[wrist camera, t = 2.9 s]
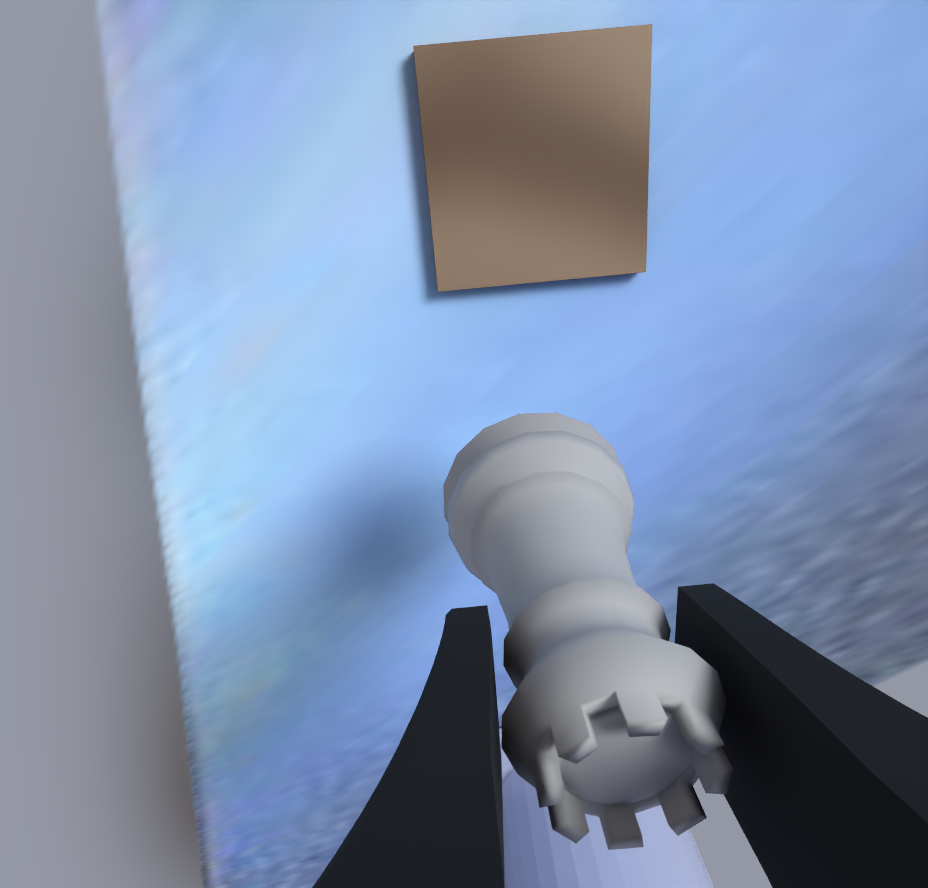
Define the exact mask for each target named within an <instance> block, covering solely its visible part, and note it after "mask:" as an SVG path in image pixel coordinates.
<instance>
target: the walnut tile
mask: <svg viewBox="0 0 928 888" xmlns="http://www.w3.org/2000/svg"><path fill="white" fill-rule="evenodd" d="M413 48H414V58H415V68H416V78H417V88H418V98H419V108H420V117H421V127H422V137H423V147H424V157H425V167H426V177H427V187H428V197H429V207H430V217H431V227H432V237H433V247H434V257H435V267H436V276H437V286H438V292H439V291H450V290H461V289H471V288H482V287H492V286H503V285H513V284H524V283H534V282H545V281H556V280H566V279H577V278H587V277H598V276H608V275H619V274H629V273H640V272H646V249H647V209H648V168H649V128H650V88H651V48H652V24H649V25H638V26H627V27H616V28H605V29H594V30H583V31H572V32H561V33H550V34H539V35H528V36H517V37H506V38H495V39H484V40H473V41H462V42H451V43H440V44H429V45H418V46H413Z"/></svg>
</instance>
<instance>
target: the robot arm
mask: <svg viewBox="0 0 928 888" xmlns="http://www.w3.org/2000/svg"><path fill="white" fill-rule="evenodd" d="M675 644H679V645H682V646H685V647H688V648H690V649H692V650H693V651H694V652H695V653H696V654H697V655H699V656H700V657H701V658H702V659H703V660H705V661H706V662H707V663H708V664H709V665H710V666H712V667H713V668H714V669H715V670H716V671H717V672H718V675H719V679H720V682H721V685H722V688H723V691H724V694H725V697H726V700H727V703H726V707H725V711H724V715H723V720H722V724H721V728H720V732H719V735H720V737H721V739H722V741H723V742H724V744H725V745H724V746H722V749H723V751H724V752H725V754H726V756H727V758H728V760H729V762H730V764H731V766H732V768H733V771H732V775H731V779H730V783H729V786H728V790H727V794H724V796H725V797H726V800H727V801H728V803H729V805H730V807H731V808H732V811H733V812H734V815H735V817H736V818H737V820H738V822H739V824H740V826H741V828H742V830H743V832H744V834H745V835H746V837H747V839H748V841H749V843H750V845H751V847H752V849H753V851H754V853H755V854H756V856H757V858H758V860H759V862H760V864H761V866H762V868H763V870H764V872H765V873H766V875H767V877H768V879H769V881H770V883H771V885H772V887H773V888H928V718H927V717H925V716H923V715H921V714H919V713H918V712H916V711H914V710H912V709H910V708H909V707H907V706H905V705H903V704H902V703H900V702H898V701H897V700H895V699H893V698H892V697H890V696H888V695H886V694H885V693H883V692H881V691H880V690H878V689H876V688H874V687H873V686H871V685H869V684H868V683H866V682H864V681H863V680H861V679H859V678H858V677H856V676H854V675H853V674H851V673H849V672H848V671H846V670H845V669H843V668H841V667H840V666H838V665H837V664H835V663H833V662H832V661H830V660H829V659H827V658H826V657H824V656H822V655H821V654H819V653H818V652H816V651H815V650H813V649H812V648H810V647H809V646H807V645H805V644H804V643H802V642H801V641H799V640H798V639H796V638H795V637H793V636H792V635H790V634H789V633H787V632H786V631H784V630H783V629H781V628H780V627H778V626H777V625H775V624H774V623H772V622H771V621H769V620H768V619H766V618H765V617H764V616H762V615H761V614H759V613H758V612H756V611H755V610H753V609H752V608H750V607H749V606H747V605H746V604H744V603H743V602H741V601H740V600H738V599H737V598H735V597H734V596H732V595H731V594H729V593H728V592H726V591H725V590H723V589H722V588H720V587H718V586H717V585H715V584H703V585H693V586H682V587H678V597H677V614H676V632H675ZM501 741H502V728H499V721H498V709H497V696H496V684H495V672H494V659H493V647H492V635H491V627H490V620H489V614H488V608H487V605H486V606H476V607H466V608H455V609H451V610H450V611H449V612H448V613H447V614H446V617H445V625H444V629H443V634H442V638H441V641H440V645H439V648H438V651H437V654H436V657H435V661H434V664H433V667H432V669H431V672H430V674H429V677H428V680H427V682H426V685H425V687H424V690H423V692H422V695H421V698H420V700H419V702H418V705H417V707H416V709H415V712H414V714H413V716H412V718H411V720H410V722H409V724H408V726H407V729H406V731H405V733H404V735H403V737H402V739H401V741H400V744H399V746H398V748H397V750H396V752H395V754H394V756H393V758H392V760H391V761H390V763H389V765H388V767H387V769H386V771H385V773H384V775H383V776H382V778H381V780H380V782H379V784H378V785H377V787H376V789H375V791H374V792H373V794H372V796H371V798H370V799H369V801H368V803H367V804H366V806H365V808H364V810H363V811H362V813H361V815H360V816H359V818H358V819H357V821H356V822H355V824H354V826H353V827H352V829H351V830H350V832H349V833H348V835H347V837H346V838H345V840H344V841H343V843H342V844H341V846H340V848H339V849H338V851H337V852H336V854H335V855H334V857H333V858H332V860H331V861H330V863H329V864H328V866H327V867H326V869H325V870H324V872H323V873H322V875H321V876H320V877H319V879H318V880H317V882H316V883H315V885H314V886H313V887H312V888H714V887H713V884H712V882H711V880H710V877H709V875H708V872H707V870H706V868H705V865H704V863H703V861H702V858H701V855H700V853H699V851H698V848H697V846H696V843H695V841H694V838H693V836H692V834H691V831H690V829H688V830H687V831H685V832H683V833H682V834H680V835H679V836H677V835H676V833H675V832H674V831H673V830H672V829H671V828H670V827H669V825H668V823H667V820H666V817H665V815H664V812H663V809H662V807H661V805H659V806H656V807H653V808H650V809H647V810H644V811H641V812H638V813H635V815H636V818H637V821H638V824H639V827H640V830H641V833H642V839H643V847H639V848H626V849H613V850H608V847H607V844H606V840H605V836H604V833H603V829H602V826H601V822H600V818H599V817H598V816H593V815H588V814H585V816H586V820H587V824H588V828H589V833H587V834H586V835H585V836H584V837H583V838H582V839H581V840H580V841H579V842H578V843H577V844H576V843H574V842H573V841H571V840H569V839H567V838H566V837H564V836H562V835H561V834H559V833H557V832H556V831H554V830H552V826H551V821H550V816H549V811H548V806H547V807H542V808H539V802H538V797H537V792H536V788H534V787H533V786H532V785H531V784H529V783H528V782H527V781H525V780H524V779H523V778H522V777H520V776H519V775H518V774H517V773H516V771H515V770H514V768H513V766H512V765H511V763H510V761H509V760H508V758H507V756H506V755H505V753H504V751H503V749H502V748H501Z"/></svg>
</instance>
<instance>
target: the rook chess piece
mask: <svg viewBox="0 0 928 888" xmlns="http://www.w3.org/2000/svg"><path fill="white" fill-rule="evenodd" d="M633 511H634V499H633V494H632V491H631V488H630V485H629V483H628V480H627V477H626V474H625V471H624V468H623V466H622V465H621V464H620V463H619V461H618V458H617V455H616V452H615V450H614V448H613V447H612V446H611V445H610V444H609V443H608V442H607V441H606V440H605V439H604V438H603V437H602V436H601V435H600V434H599V433H598V432H597V431H596V430H595V429H594V428H593V427H592V426H591V425H589V424H587V423H584V422H581V421H578V420H576V419H573V418H570V417H567V416H565V415H562V414H559V413H532V414H518V415H515V416H513V417H510V418H508V419H506V420H503V421H501V422H498V423H496V424H494V425H491V426H489V427H486V428H484V429H483V430H482V431H481V432H480V433H479V434H477V435H476V436H475V437H474V438H473V439H472V440H471V441H470V442H469V443H468V444H467V445H466V446H465V447H464V448H463V449H462V450H461V451H460V452H459V453H458V454H457V455H456V458H455V460H454V462H453V465H452V467H451V469H450V471H449V474H448V476H447V478H446V481H445V483H444V515H445V518H446V520H447V522H448V524H449V537H450V539H451V541H452V542H453V544H454V546H455V548H456V550H457V552H458V554H459V556H460V558H461V560H462V561H463V563H464V565H465V566H466V568H467V570H468V571H469V572H471V573H472V574H473V575H475V576H476V577H477V578H478V579H480V580H481V581H482V582H483V584H484V585H486V586H487V587H488V588H490V589H491V590H492V591H494V592H495V593H496V594H497V596H498V599H499V601H500V604H501V606H502V609H503V611H504V614H505V616H506V619H507V621H508V627H509V632H508V633H507V635H506V637H505V639H504V664H503V665H504V667H505V669H506V671H507V673H508V675H509V676H510V678H511V680H512V682H513V684H514V686H515V687H516V688H517V691H516V692H515V694H514V696H513V698H512V699H511V701H510V703H509V704H508V706H507V708H506V710H505V711H504V713H503V715H502V741H501V748H502V749H503V751H504V753H505V755H506V756H507V758H508V760H509V761H510V763H511V765H512V766H513V768H514V770H515V771H516V773H517V774H518V775H519V776H520V777H522V778H523V779H524V780H525V781H527V782H528V783H529V784H531V785H532V786H533V787H534V788H536V792H537V797H538V802H539V808H542V807H547V806H548V811H549V816H550V821H551V826H552V830H554V831H556V832H557V833H559V834H561V835H562V836H564V837H566V838H567V839H569V840H571V841H573V842H574V843H576V844H577V843H578V842H579V841H580V840H581V839H582V838H583V837H584V836H585V835H586V834H587V833H589V828H588V824H587V820H586V816H585V814H588V815H593V816H598V817H599V818H600V822H601V826H602V829H603V833H604V836H605V840H606V844H607V847H608V850H613V849H626V848H639V847H643V839H642V833H641V830H640V827H639V824H638V821H637V818H636V815H635V813H638V812H641V811H644V810H647V809H650V808H653V807H656V806H659V805H661V807H662V809H663V812H664V815H665V817H666V820H667V823H668V825H669V827H670V828H671V829H672V830H673V831H674V832H675V833H676V835H677V836H679V835H680V834H682V833H683V832H685V831H687V830H688V829H690V828H691V827H693V826H695V825H696V824H698V823H699V822H701V821H702V820H704V819H706V815H705V812H704V810H703V809H702V806H701V803H700V801H699V799H698V797H697V795H696V792H695V790H694V788H693V784H694V783H695V782H696V781H697V779H698V778H699V779H700V781H701V783H702V785H703V788H704V790H705V792H706V793H713V794H727V790H728V786H729V783H730V779H731V775H732V771H733V768H732V766H731V764H730V762H729V760H728V758H727V756H726V754H725V752H724V751H723V749H722V746H724V745H725V744H724V742H723V741H722V739H721V737H720V735H719V732H720V728H721V724H722V720H723V715H724V711H725V707H726V703H727V700H726V697H725V694H724V691H723V688H722V685H721V682H720V679H719V675H718V672H717V671H716V670H715V669H714V668H713V667H712V666H710V665H709V664H708V663H707V662H706V661H705V660H703V659H702V658H701V657H700V656H699V655H697V654H696V653H695V652H694V651H693V650H692V649H690V648H688V647H685V646H682V645H679V644H675V643H672V642H669V638H670V632H671V630H670V627H669V624H668V621H667V619H666V616H665V613H664V610H663V607H662V606H661V605H660V604H659V603H657V602H656V601H655V600H654V599H653V598H652V597H651V596H649V595H648V594H647V593H646V592H645V591H644V590H643V589H641V588H638V587H637V585H636V583H635V581H634V578H633V575H632V572H631V568H630V565H629V562H628V558H627V555H626V553H627V547H628V539H629V537H630V535H631V527H632V519H633Z"/></svg>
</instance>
